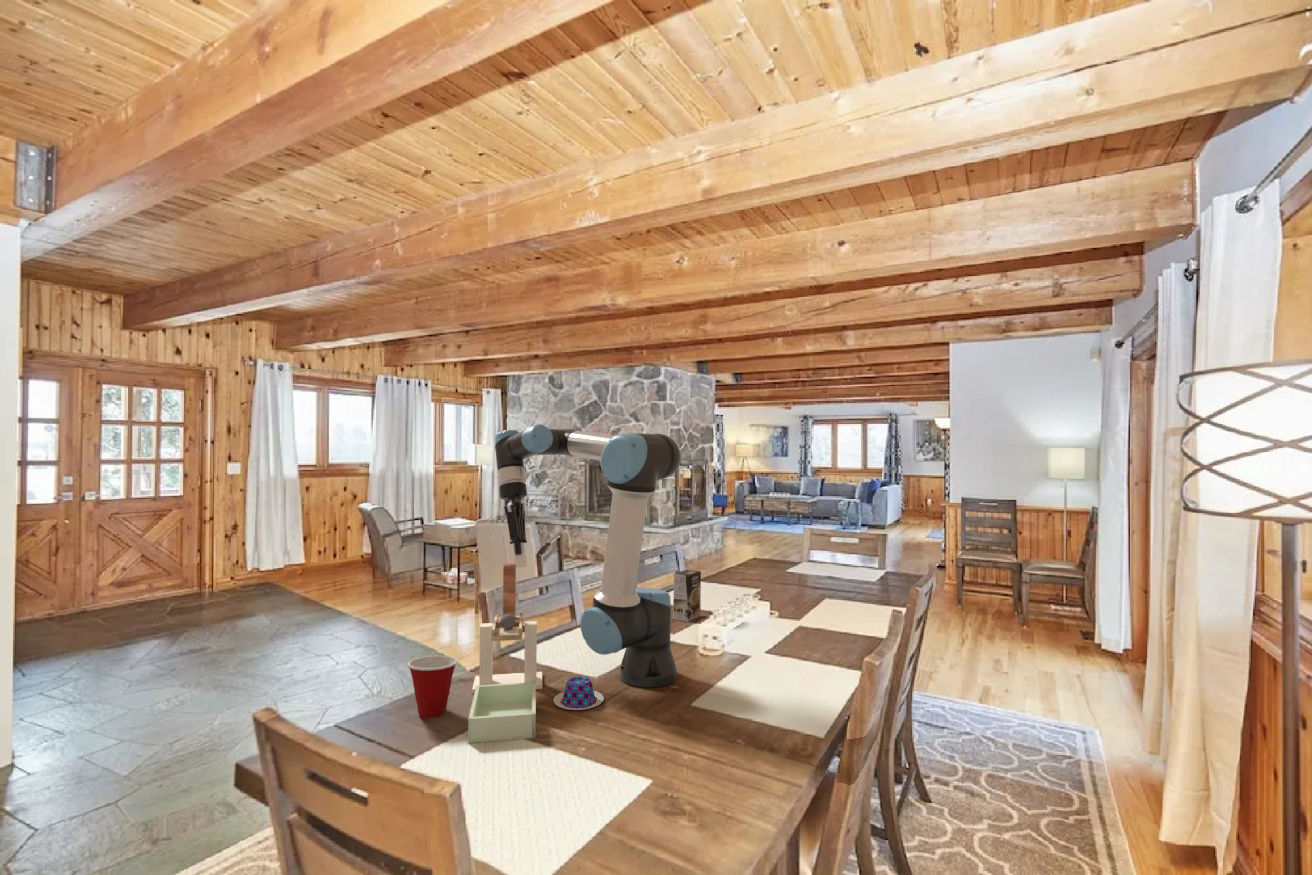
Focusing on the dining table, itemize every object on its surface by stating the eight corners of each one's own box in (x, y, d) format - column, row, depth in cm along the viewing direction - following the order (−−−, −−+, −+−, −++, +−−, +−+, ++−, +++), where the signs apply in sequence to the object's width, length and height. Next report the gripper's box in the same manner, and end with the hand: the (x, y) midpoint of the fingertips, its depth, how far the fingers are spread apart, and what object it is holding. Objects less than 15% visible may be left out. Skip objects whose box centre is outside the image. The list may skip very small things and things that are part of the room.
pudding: (577, 717, 140) (577, 694, 140) (542, 703, 148) (543, 681, 148) (614, 700, 150) (614, 679, 150) (579, 688, 157) (579, 667, 157)
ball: (518, 628, 152) (518, 613, 152) (507, 632, 149) (507, 617, 149) (508, 625, 154) (508, 611, 154) (496, 629, 151) (497, 614, 151)
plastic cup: (465, 703, 147) (465, 652, 147) (445, 724, 136) (445, 669, 136) (421, 701, 148) (421, 650, 148) (397, 721, 137) (398, 667, 137)
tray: (476, 707, 145) (476, 685, 145) (535, 702, 147) (535, 681, 147) (468, 743, 128) (468, 718, 128) (535, 737, 130) (535, 713, 130)
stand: (475, 679, 161) (476, 619, 161) (542, 675, 165) (542, 616, 165) (472, 693, 153) (472, 630, 153) (542, 688, 156) (542, 626, 156)
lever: (495, 621, 161) (496, 563, 161) (523, 620, 163) (523, 562, 163) (491, 641, 146) (492, 576, 146) (521, 639, 147) (522, 575, 147)
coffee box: (688, 622, 214) (688, 575, 214) (672, 619, 217) (672, 573, 217) (701, 616, 221) (701, 570, 222) (685, 613, 225) (686, 568, 225)
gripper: (506, 490, 184) (514, 570, 178) (492, 481, 172) (500, 567, 165) (531, 485, 184) (540, 566, 178) (519, 477, 171) (528, 563, 165)
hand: (521, 566), depth 171 cm, fingers closed
